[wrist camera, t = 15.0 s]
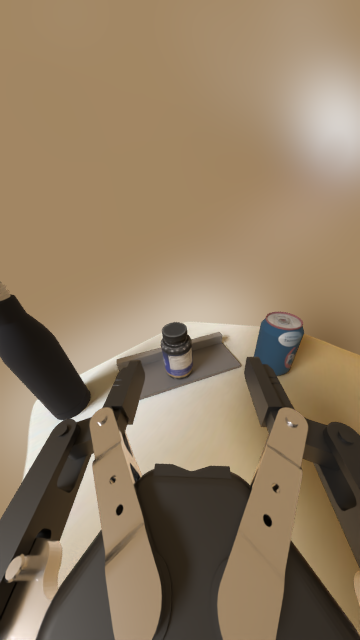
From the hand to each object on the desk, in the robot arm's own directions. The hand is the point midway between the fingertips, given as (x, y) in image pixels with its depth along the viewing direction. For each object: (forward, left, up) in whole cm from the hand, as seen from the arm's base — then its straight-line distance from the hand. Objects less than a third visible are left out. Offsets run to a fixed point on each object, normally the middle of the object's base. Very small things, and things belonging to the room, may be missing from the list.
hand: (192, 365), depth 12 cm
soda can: (-21, -10, -19) cm, 31 cm away
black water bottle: (+20, -16, -19) cm, 32 cm away
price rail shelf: (-2, -16, -19) cm, 25 cm away
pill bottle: (-2, -16, -19) cm, 25 cm away
